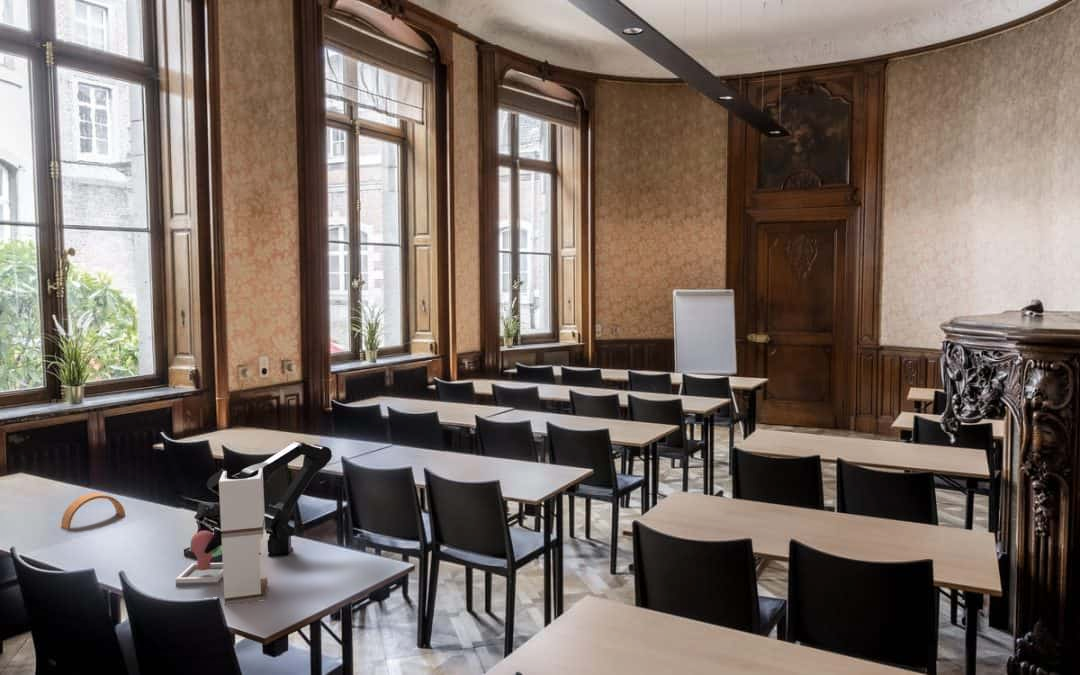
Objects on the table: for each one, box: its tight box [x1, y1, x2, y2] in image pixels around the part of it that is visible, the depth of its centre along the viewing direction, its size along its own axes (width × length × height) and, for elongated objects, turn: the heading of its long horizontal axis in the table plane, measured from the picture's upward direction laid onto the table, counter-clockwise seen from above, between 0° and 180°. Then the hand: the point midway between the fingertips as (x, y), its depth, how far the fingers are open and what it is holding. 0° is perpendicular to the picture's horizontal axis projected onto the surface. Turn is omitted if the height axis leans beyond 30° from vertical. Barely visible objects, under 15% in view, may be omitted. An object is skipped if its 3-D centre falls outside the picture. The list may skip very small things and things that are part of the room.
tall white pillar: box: [218, 468, 269, 606], centre depth 219 cm, size 11×11×35 cm
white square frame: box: [175, 562, 224, 587], centre depth 233 cm, size 12×12×2 cm
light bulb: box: [189, 531, 214, 570], centre depth 232 cm, size 7×7×12 cm
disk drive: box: [183, 545, 223, 563], centre depth 251 cm, size 10×3×15 cm
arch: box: [60, 492, 126, 531], centre depth 285 cm, size 6×20×10 cm, turn 141°
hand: (199, 550), depth 231 cm, fingers closed on light bulb, 7 cm apart
